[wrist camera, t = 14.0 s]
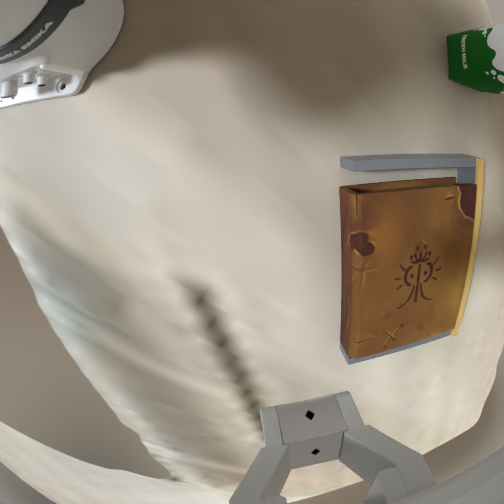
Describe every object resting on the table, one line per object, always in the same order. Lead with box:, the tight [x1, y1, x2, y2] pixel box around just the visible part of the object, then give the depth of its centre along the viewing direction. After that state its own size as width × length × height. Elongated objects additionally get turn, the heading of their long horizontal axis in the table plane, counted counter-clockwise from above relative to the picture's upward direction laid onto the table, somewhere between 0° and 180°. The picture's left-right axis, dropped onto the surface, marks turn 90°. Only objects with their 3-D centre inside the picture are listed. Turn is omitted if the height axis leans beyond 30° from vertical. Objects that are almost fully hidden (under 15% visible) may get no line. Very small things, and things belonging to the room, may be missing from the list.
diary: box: [339, 177, 477, 359], centre depth 39 cm, size 23×19×6 cm
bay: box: [340, 154, 484, 365], centre depth 39 cm, size 20×28×5 cm
